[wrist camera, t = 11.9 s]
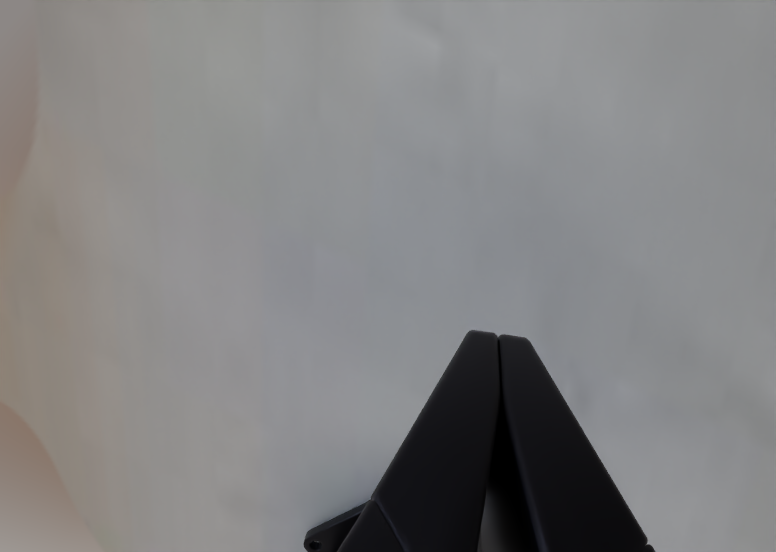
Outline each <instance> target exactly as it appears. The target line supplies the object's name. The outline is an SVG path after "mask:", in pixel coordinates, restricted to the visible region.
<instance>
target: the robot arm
mask: <svg viewBox="0 0 776 552" xmlns="http://www.w3.org/2000/svg"><path fill="white" fill-rule="evenodd" d="M315 541H318V542H319V543H318V542H315ZM647 542H648V540H647V537H646V536H645V534H644V532H643V531H642V529H641V527H640V526H639V524H638V522H637V520H636V519H635V517H634V515H633V514H632V512H631V510H630V509H629V507H628V505H627V504H626V502H625V500H624V499H623V497H622V495H621V494H620V492H619V490H618V489H617V487H616V485H615V484H614V482H613V480H612V479H611V477H610V475H609V474H608V472H607V470H606V468H605V467H604V465H603V463H602V462H601V460H600V458H599V457H598V455H597V453H596V452H595V450H594V448H593V447H592V445H591V443H590V442H589V440H588V438H587V437H586V435H585V433H584V432H583V430H582V428H581V427H580V425H579V423H578V421H577V420H576V418H575V416H574V415H573V413H572V411H571V410H570V408H569V406H568V405H567V403H566V401H565V400H564V398H563V396H562V395H561V393H560V391H559V390H558V388H557V386H556V385H555V383H554V381H553V380H552V378H551V376H550V374H549V373H548V371H547V369H546V368H545V366H544V364H543V363H542V361H541V359H540V358H539V356H538V354H537V353H536V351H535V349H534V348H533V346H532V344H531V343H530V341H529V340H528V339H527V338H524V337H518V336H511V335H500V336H499V337H497V335H496V334H495V333H490V332H483V331H477V330H471V331H469V332H468V333H467V334H466V336H465V338H464V340H463V341H462V343H461V345H460V346H459V348H458V350H457V351H456V353H455V355H454V357H453V358H452V360H451V362H450V363H449V365H448V367H447V368H446V370H445V372H444V374H443V375H442V377H441V379H440V380H439V382H438V384H437V386H436V387H435V389H434V391H433V392H432V394H431V396H430V397H429V399H428V401H427V403H426V404H425V406H424V408H423V409H422V411H421V413H420V414H419V416H418V418H417V420H416V421H415V423H414V425H413V426H412V428H411V430H410V431H409V433H408V435H407V437H406V438H405V440H404V442H403V443H402V445H401V447H400V448H399V450H398V452H397V454H396V455H395V457H394V459H393V460H392V462H391V464H390V465H389V467H388V469H387V471H386V472H385V474H384V476H383V477H382V479H381V481H380V482H379V484H378V486H377V488H376V489H375V491H374V493H373V494H372V496H371V500H369V501H368V502H366V503H364V504H362V505H360V506H358V507H356V508H354V509H352V510H350V511H348V512H346V513H344V514H342V515H340V516H338V517H336V518H334V519H332V520H330V521H328V522H325V523H323V524H321V525H319V526H317V527H315V528H313V529H311V530H310V531H308V532H307V534H306V537H305V540H304V547H305V549H306V550H307V551H308V552H655V550H654V549H653V547H652V546H651V545H649V544H647ZM646 544H647V545H646ZM645 545H646V546H645Z"/></svg>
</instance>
